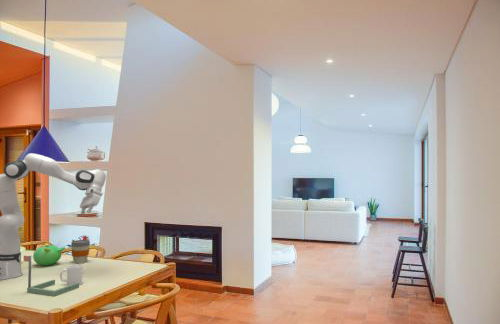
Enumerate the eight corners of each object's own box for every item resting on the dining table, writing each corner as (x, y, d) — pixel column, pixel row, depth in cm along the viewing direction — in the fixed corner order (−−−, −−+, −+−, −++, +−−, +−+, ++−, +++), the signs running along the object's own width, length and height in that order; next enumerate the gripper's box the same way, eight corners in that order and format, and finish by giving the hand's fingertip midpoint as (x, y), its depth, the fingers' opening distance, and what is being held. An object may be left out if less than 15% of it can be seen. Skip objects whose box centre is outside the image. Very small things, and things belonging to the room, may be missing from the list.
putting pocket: (47, 283, 235) (48, 249, 236) (78, 287, 228) (79, 252, 228) (21, 291, 219) (22, 255, 219) (54, 296, 211) (55, 258, 212)
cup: (81, 284, 233) (82, 267, 233) (59, 286, 229) (59, 268, 229) (82, 281, 241) (82, 264, 241) (60, 283, 236) (60, 265, 237)
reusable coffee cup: (66, 262, 288) (67, 241, 289) (82, 259, 299) (82, 239, 299) (77, 265, 282) (78, 243, 282) (93, 261, 292) (93, 241, 293)
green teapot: (52, 261, 293) (52, 240, 293) (67, 264, 284) (67, 243, 285) (28, 266, 277) (28, 244, 278) (42, 269, 269) (43, 247, 269)
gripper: (81, 193, 267) (74, 213, 261) (95, 189, 253) (87, 209, 246) (90, 197, 270) (83, 216, 264) (104, 193, 256) (96, 213, 250)
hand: (85, 213), depth 255 cm, fingers open, 8 cm apart
